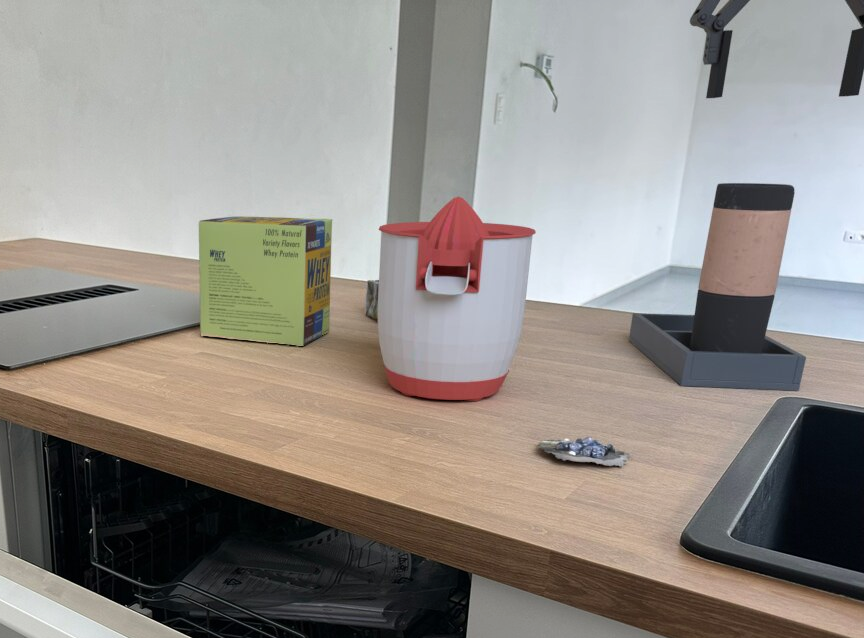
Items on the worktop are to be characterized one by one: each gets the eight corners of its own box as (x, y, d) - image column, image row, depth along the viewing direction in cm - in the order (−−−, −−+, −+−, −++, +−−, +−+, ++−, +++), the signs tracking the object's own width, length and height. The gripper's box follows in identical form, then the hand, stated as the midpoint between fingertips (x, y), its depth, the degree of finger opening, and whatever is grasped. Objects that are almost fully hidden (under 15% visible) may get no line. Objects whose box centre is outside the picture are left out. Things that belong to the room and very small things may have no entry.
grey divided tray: (723, 344, 114) (728, 315, 113) (799, 391, 93) (806, 356, 91) (628, 340, 116) (632, 313, 115) (680, 386, 94) (686, 352, 93)
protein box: (304, 347, 111) (307, 224, 106) (198, 337, 117) (196, 220, 112) (331, 332, 120) (334, 218, 115) (231, 323, 126) (230, 214, 121)
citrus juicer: (357, 407, 86) (366, 200, 79) (381, 366, 102) (390, 191, 95) (519, 420, 82) (542, 204, 76) (518, 376, 98) (537, 193, 91)
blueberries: (521, 448, 75) (523, 427, 74) (598, 439, 77) (600, 419, 76) (569, 475, 69) (572, 452, 68) (651, 464, 71) (655, 442, 70)
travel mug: (670, 360, 101) (700, 183, 94) (723, 356, 103) (756, 182, 96) (719, 376, 94) (755, 186, 88) (775, 372, 96) (814, 185, 90)
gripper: (702, -139, 84) (669, 96, 91) (983, -152, 80) (926, 93, 88) (678, -117, 91) (649, 100, 98) (936, -128, 87) (886, 96, 95)
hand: (780, 97), depth 93 cm, fingers open, 13 cm apart
